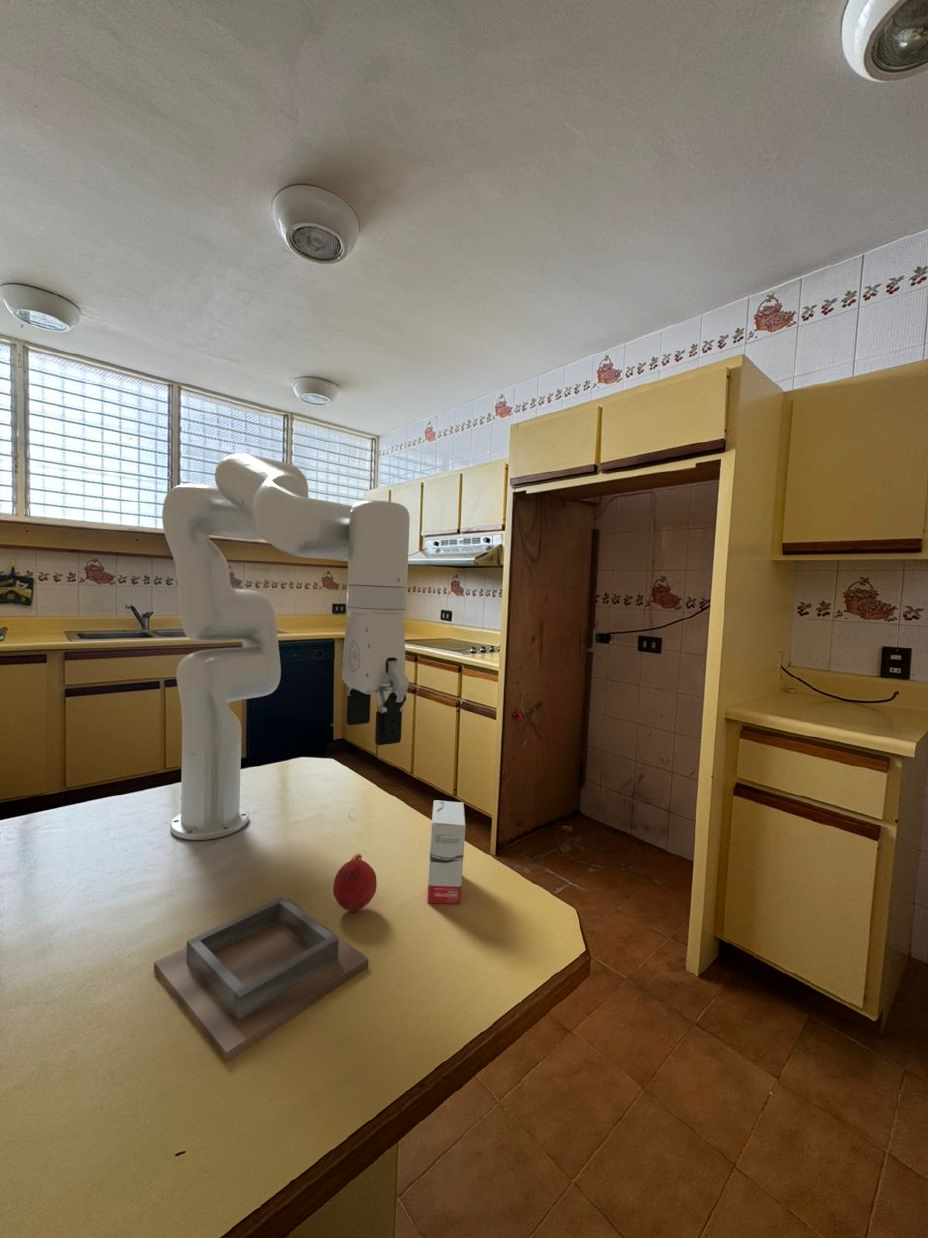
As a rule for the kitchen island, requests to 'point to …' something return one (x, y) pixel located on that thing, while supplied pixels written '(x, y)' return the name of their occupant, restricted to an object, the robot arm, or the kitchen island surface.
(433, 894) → the ink box
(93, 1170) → the kitchen island surface
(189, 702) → the robot arm
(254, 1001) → the dock
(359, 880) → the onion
